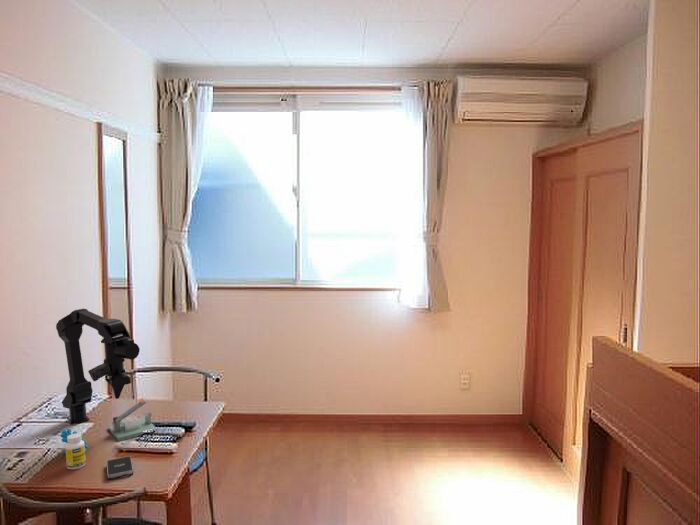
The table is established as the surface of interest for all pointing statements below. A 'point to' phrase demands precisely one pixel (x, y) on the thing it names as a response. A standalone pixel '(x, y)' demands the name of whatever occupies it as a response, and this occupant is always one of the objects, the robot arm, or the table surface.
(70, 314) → the robot arm
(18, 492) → the table surface
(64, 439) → the gear
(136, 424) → the heatsink
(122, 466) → the external hard drive
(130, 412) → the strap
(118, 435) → the board
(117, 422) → the post
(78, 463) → the supplement bottle
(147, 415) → the post
